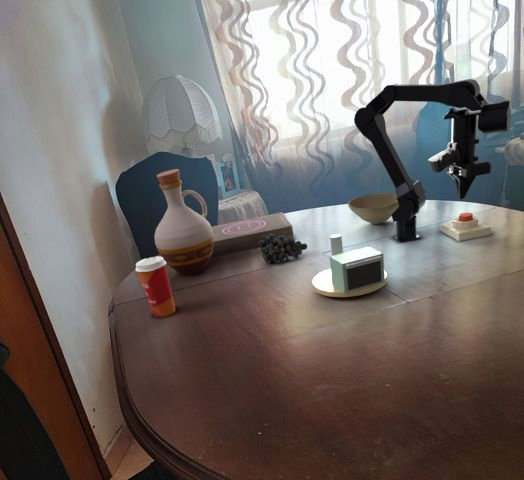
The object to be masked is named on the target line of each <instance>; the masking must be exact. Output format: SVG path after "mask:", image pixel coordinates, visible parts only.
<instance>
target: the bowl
mask: <svg viewBox="0 0 524 480" xmlns="http://www.w3.org/2000/svg"><path fill="white" fill-rule="evenodd" d="M347 206H348V208H349V209H350V211H351V212H353V213H354V214H355V215H356V216H358V217H359V218H360V219H361V220H362V221H364V222H367V223H370V224H374V225H375V224H382V223H385V222H386V221H388V220H389V219H391V218H392V216H391V215H392V213H393V212H394V211H395V210H396V209H397V208H398V207H399V205H398V202H397V199H396V193H391V192H387V193H385V192H383V193H379V192H378V193H371V194H369V193H368V194H364V195H362V196H356V197H354V198H352V199H350V200H349V201H348V202H347Z"/></svg>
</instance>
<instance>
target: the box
mask: <svg viewBox="0 0 524 480" xmlns="http://www.w3.org/2000/svg"><path fill="white" fill-rule="evenodd" d="M491 230H492V226H489V225H488V224H485V223H482V222H480V221H479V217H477V216H474V215H473V220H471V221H466V222H462V221H459V216H458V217H456V218H453V220H452V222H447V223H441V232H442V233H443V234H445V235H447V236H448V237H450V238H453V239H454V240H456V241H457V242H460V241H467V240H471V239H476V238H481V237H486V236H490V235H491Z"/></svg>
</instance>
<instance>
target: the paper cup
mask: <svg viewBox="0 0 524 480" xmlns="http://www.w3.org/2000/svg"><path fill="white" fill-rule="evenodd" d="M135 272H137V274H138V277H139V279H140V282H141V285H142V288H143V291H144V293H145V296H146V298H147V300H148V304H149V306H150V309H151V310H152V313H153V315H154V317H156V318H165V317H168V316H170V315H172V314H174V313H175V312H176V306H175V302H174V301H175V300H174V297H173V296H174V295H173V291H172V288H171V283H170V278H169V273H168V269H167V263H166V261H165V260H164V259H163V257H162V256H161V255H157V256H151V257H148V258H143V259H141V260H138V261H137V262H136V263H135Z"/></svg>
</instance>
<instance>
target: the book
mask: <svg viewBox="0 0 524 480" xmlns="http://www.w3.org/2000/svg"><path fill="white" fill-rule="evenodd" d="M211 228H212V230H213V250H212V255H211V257H210V258H212V257H218V256H222V255H226V254H231V253H236V252H241V251H247V250H251V249H257V248H260V246H259V242H260V241H261V237H262V236H266V237H267V236H268V234H274V235H275V237H276V238H277V237H278V236H285V237H286V238H293V240H295V236H294V235H295V234H294V229H293V225H292V224H291V222H290V221H289V220H288V218H287V216H286V215H285V214H284V213H283V212H276V213H272V214H267V215H262V216H255V217H253V218H247V219H242V220H237V221H232V222H227V223H222V224H218V225H211Z"/></svg>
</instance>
